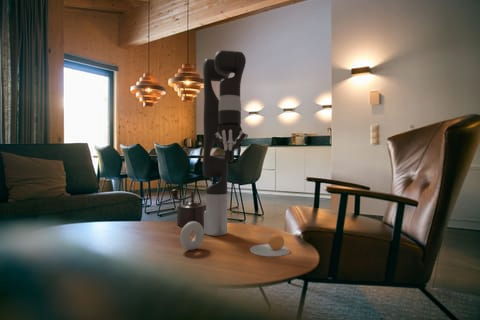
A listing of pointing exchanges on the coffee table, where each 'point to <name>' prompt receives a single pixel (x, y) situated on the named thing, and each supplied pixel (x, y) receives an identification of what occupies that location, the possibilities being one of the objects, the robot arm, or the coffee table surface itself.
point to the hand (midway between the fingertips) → (229, 161)
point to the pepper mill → (188, 210)
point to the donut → (186, 233)
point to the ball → (276, 241)
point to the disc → (269, 250)
